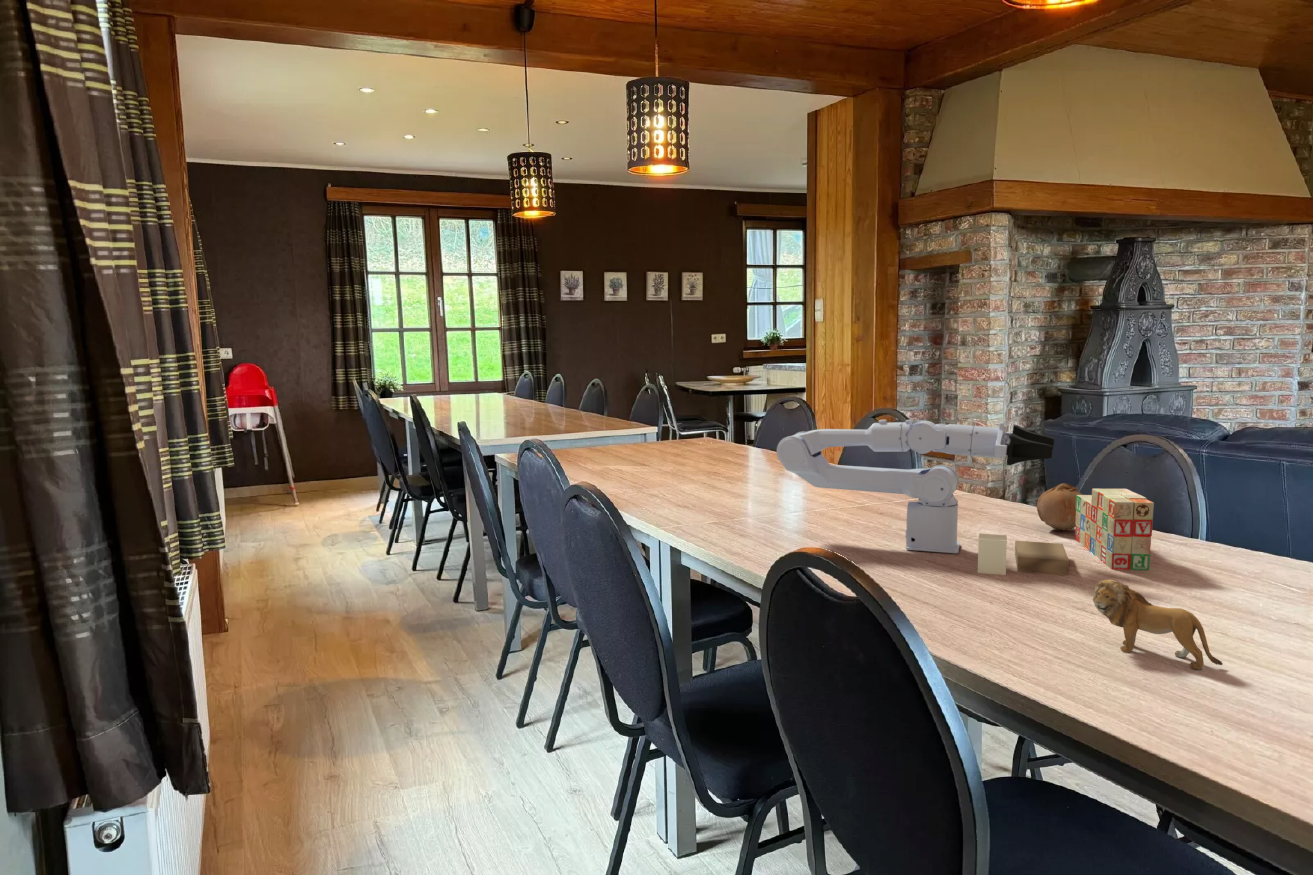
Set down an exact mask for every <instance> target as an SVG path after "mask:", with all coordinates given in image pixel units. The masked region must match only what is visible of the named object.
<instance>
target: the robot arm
mask: <svg viewBox="0 0 1313 875" xmlns="http://www.w3.org/2000/svg"><path fill="white" fill-rule="evenodd" d="M887 420H888V419H880V420H878V422H874V423H872V424H871V425H870V426H869V427H868V428H867V429H854V428H853V429H852V428H851V429H849V428H845V429H844V428H843V429H842V428H821V429H819V428H818V429H812V430H808V431H798V432H796V433H795V434H793V435H789V436H786V437H783V438H782V439H781V440H780V441H779V442H778V444H777V446H776V455H777V459H778V460H779V462H780V463H781V465H782V466H783V467H784V469H785V470H786V471H787V472H791V473H793V474H795V475H797V476H798V477H799V478H801V479H802V480H804V481H805V482H807V483H808V484H810V485H811V486H812V487H815V488H819V489H820V488H821V489H830V490H831V489H832V490H844V491H856V492H857V491H858V492H870V493H884V494H897V495H905V496H908V497H909V498H911V499H918V501H908V503H907V507H906V529H905V540H906V541H905V543H906V544H905V546H906V547H905V550H908V551H918V552H919V551H920V552H932V553H933V552H934V553H944V554H959V550H960V545H961V543H960V541H958V516H959V514H958V513H959V512H958V510H959V503H958V502H959V500H958V499H957V498H956V497H955V495H954V493H955V491H956V490H957V488H958V486H959V477H958V476H959V475H958V474H957V472H956V471H955V470H954V469H953V468H952V467H951V466H948V465H945V464H938V465H935V466H932V467H929V468H911V469H907V468H906V469H903V468H889V467H888V468H887V467H872V466H871V467H870V466H859V465H858V466H857V465H855V466H854V465H841V464H830V462H829V461H828V460H827V459H826V458H825V456H824V455H823V453H822V451H824V450H825V449H827V448H837V447H840V448H841V447H861V446H867V447H869V449H871V450H872V451H873V452H874V453H878V452H880V453H881V452H882V453H883V452H889V453H890V452H893V453H894V452H896V453H897V452H899V453H900V452H901V453H902V452H908V451H909V450H912V451H914V452H915V453H918V454H920V455H924V454H928V453H930V452H934V453H945V454H947V455H957V456H958V455H959V456H966V457H978V458H985V459H987V458H988V459H996V460H999V461H1001V460H1003V458H1006V465H1007V466H1013V465H1015V464H1018V463H1023V462H1028V461H1036V460H1038V461H1039V460H1047V459H1052V457H1053V450H1054V445H1055V444H1054V442H1055V438H1054V437H1050V436H1048V435H1043V434H1040V433H1035V432H1033V431H1030V430H1028V429H1025V428H1023V427H1022V426H1020V425H1018V424H1013V426H1012V431H1007V430H1006V428H1005V421H1000V422H999V427H991V426H990V427H989V426H980V425H978V426H977V425H971V424H970V425H967V424H954V423H948V424H945V423H934V422H933V421H929V420H924V419H920V420H918V421H916V422H914V423H913V420H912V419H906V420H905V421H904V422H903V421H902V422H900V421H899V422H887Z"/></svg>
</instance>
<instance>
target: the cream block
mask: <svg viewBox="0 0 1313 875" xmlns="http://www.w3.org/2000/svg"><path fill="white" fill-rule="evenodd" d="M1007 538H1008V536H1007V535H1006V534H995V533H994V534H991V533H979V534H978V543H977V544H978V545H977V546H978V548H977V549H978V550H977V551H978V553H977V554H978V557H977V573H978V574H985V575H997V574H1002V575H1001V576H1006V575H1007V551H1008V546H1007V545H1008V542H1007V541H1008V540H1007Z"/></svg>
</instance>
